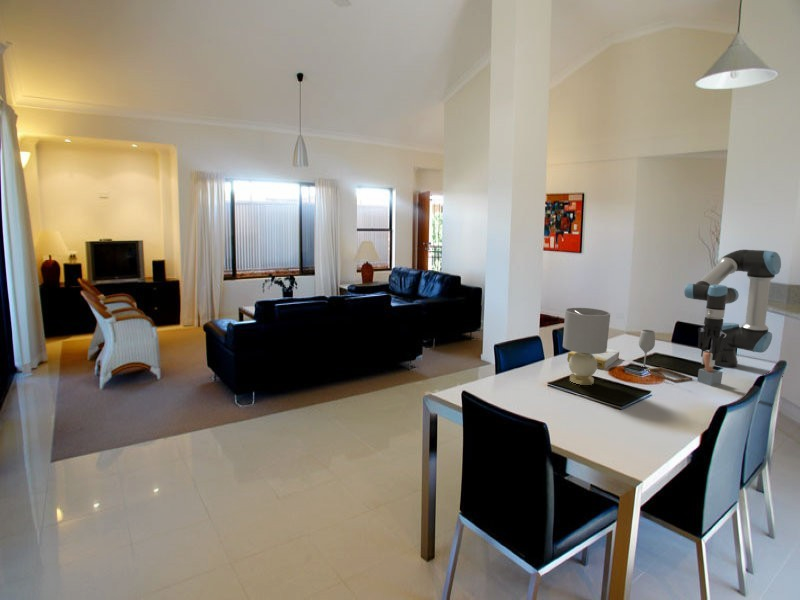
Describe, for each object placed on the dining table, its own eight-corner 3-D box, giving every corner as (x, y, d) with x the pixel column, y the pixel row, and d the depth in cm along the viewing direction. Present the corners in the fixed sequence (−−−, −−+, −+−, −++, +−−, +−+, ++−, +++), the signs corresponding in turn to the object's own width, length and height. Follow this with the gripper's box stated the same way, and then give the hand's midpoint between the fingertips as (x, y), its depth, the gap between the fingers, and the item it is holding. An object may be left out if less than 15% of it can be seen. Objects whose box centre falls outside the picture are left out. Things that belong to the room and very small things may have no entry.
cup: (706, 382, 242) (708, 367, 241) (720, 386, 236) (722, 372, 234) (696, 383, 239) (698, 369, 238) (710, 388, 233) (712, 373, 232)
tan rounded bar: (709, 382, 240) (713, 350, 237) (715, 384, 237) (719, 352, 234) (698, 384, 237) (702, 351, 234) (704, 386, 234) (708, 353, 231)
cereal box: (567, 352, 271) (584, 343, 293) (566, 362, 272) (583, 352, 294) (605, 360, 259) (619, 350, 280) (604, 370, 260) (618, 359, 281)
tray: (660, 371, 258) (660, 367, 258) (691, 382, 242) (692, 377, 241) (643, 373, 254) (643, 369, 253) (674, 384, 237) (674, 380, 237)
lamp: (609, 382, 239) (616, 311, 233) (593, 392, 224) (600, 317, 218) (570, 372, 252) (575, 306, 246) (552, 381, 238) (558, 311, 232)
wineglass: (653, 371, 257) (658, 333, 254) (638, 370, 259) (642, 332, 255) (649, 367, 265) (653, 329, 261) (634, 366, 266) (638, 328, 262)
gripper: (692, 314, 237) (687, 361, 241) (725, 321, 222) (718, 370, 226) (703, 313, 240) (697, 359, 244) (736, 320, 225) (729, 369, 229)
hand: (707, 365), depth 235 cm, fingers closed on tan rounded bar, 3 cm apart
